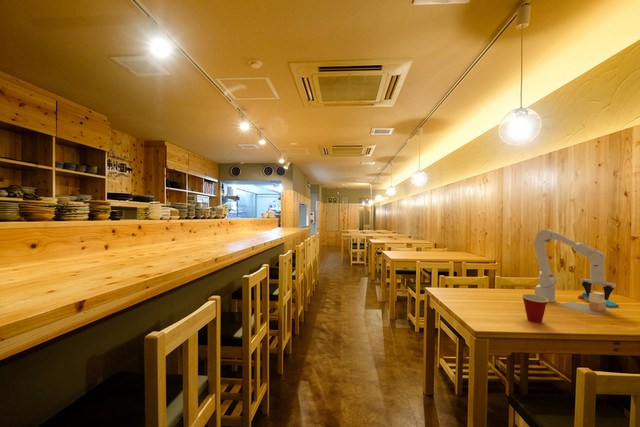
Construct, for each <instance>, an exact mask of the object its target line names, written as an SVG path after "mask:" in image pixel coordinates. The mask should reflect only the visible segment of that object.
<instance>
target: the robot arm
mask: <svg viewBox="0 0 640 427" xmlns="http://www.w3.org/2000/svg"><path fill="white" fill-rule="evenodd" d="M555 240H556V241H559V242H561V243H564V244H566V245H568V246H569V247H572V248H573V250H574V252H577V253H578V254H580V255H581V256H584V257H586V258H588V259H589V261H590V262H589V263H590V264H589V270H590V273H589V277H590V278H580V279H579V280H580V281H579V282H580V283H581V286H582V287H583V288H584V290H585V291H584V292H586V294H587V296H589V293H591V292H592V285H596V286H603V287H602V288H603V293H604V299H605V300H609V298H610V295H611V294H612V292H613V290H614V289H615V288H616V286H617V284H616V283H613V282H610V281H609V282H608V281H605V275H606V274H605V273H606V272H605V269H606V268H605V267H606V266H605V259H606V254H605V253H604V252H603V251H601V250H597V248H593V247H591V246H590V245H588V243H586V242H576V241H574V240H573V239H571V238H569V237H567V236H566V235H564V234H562V233H560V232H558V231H555V230H554V229H551V228H547V229H541V230H539V231H538V232H537V233H536V236H535V238H534V241H533V246H534V251H535V255H536V260H537V263H538V264H537V265H538V269H539V274H538V277H539V278H538V284H537V285H536V286H535V288H534V295H539V296H542V297H545V298H547V299H548V300H549V301H548V302H551V303H554V302H556V286H555V285H556V283H557V279H556V278H555V276H554V274H553V272H552V270H551V267H550V264H549V259H548V254H547V250H546V247H545V246H546V244H547V243H548V242H549V241H555ZM548 302H547V303H548Z"/></svg>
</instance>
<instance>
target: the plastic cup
mask: <svg viewBox="0 0 640 427" xmlns="http://www.w3.org/2000/svg"><path fill="white" fill-rule="evenodd" d="M521 297H522V299H523V304H524V309H525V314H526V318H527V321H529V322H532V323H538V324H539V323H541V324H542V323H543V319H544V315H545V311H546V306H547V304H548V301H549V300H548V299H547V298H545V297H542V296H539V295H535V294H533V293H522V294H521Z"/></svg>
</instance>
